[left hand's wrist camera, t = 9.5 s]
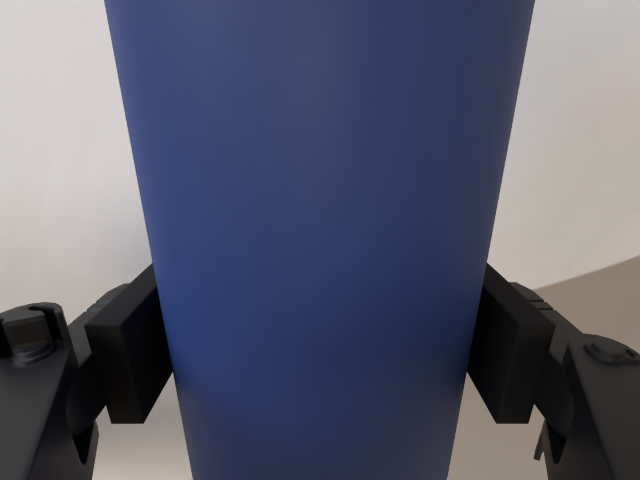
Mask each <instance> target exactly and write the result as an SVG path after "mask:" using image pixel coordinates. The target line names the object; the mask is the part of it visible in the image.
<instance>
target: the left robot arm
mask: <svg viewBox="0 0 640 480" xmlns="http://www.w3.org/2000/svg"><path fill="white" fill-rule="evenodd" d="M172 372H173V369H172V364H171V358H170V353H169V347H168V342H167V337H166V331H165V326H164V320H163V315H162V310H161V304H160V299H159V293H158V288H157V283H156V277H155V272H154V266H153V263H152V264H151V265H150V266H149V267H147V268H146V269H145V270H144V271H143V272H142V273H141V274H140V275H139V276H138V277H136V278H135V279H134V280H133V281H132V282H131V283H130V284H122V285H120V286H118V287H116V288H114V289H112V290H110V291H108V292H107V293H106V294H105V295H103V296H102V297H101V298H100V299H99V300H98V301H96V303H94V304H93V305H92V306H91V307H89V308H88V309H87V312H84V313H82V314H81V315H80V316H79V317H78V318H76V319H75V320H74V321H73V322H72V323H71V324H69V325H68V326H67V323H66V320H65V317H64V313H63V310H62V307H61V306H60V305H58V304H56V303H48V302H43V303H33V304H28V305H24V306H20V307H16V308H13V309H11V310H8V311H5V312H3V313H0V480H92V475H93V469H94V463H95V456H96V450H97V444H98V438H99V432H98V426H97V423H96V420H95V419H96V418H97V417H98V415H99V414H100V412H101V411H102V410H103V408H104V407H105V406H107V410H108V413H109V417H110V420H111V424H144V422H145V420H146V418H147V416H148V415H149V413H150V411H151V409H152V408H153V406H154V404H155V402H156V400H157V399H158V397H159V395H160V393H161V392H162V390H163V388H164V386H165V384H166V383H167V381H168V379H169V377H170V376H171V374H172ZM467 372H468V374H469V376H470V378H471V379H472V381H473V383H474V385H475V387H476V388H477V390H478V392H479V394H480V396H481V397H482V399H483V401H484V403H485V404H486V406H487V408H488V410H489V412H490V413H491V415H492V417H493V419H494V420H495V422H496V423H497V424H528V423H529V419H530V416H531V412H532V409H533V405H534V404H535V405H536V407H537V408H538V409H539V411H540V412H541V414H542V415H543V416H544V418H545V420H544V423H543V426H542V430H541V433H540V436H539V440H538V443H537V446H536V450H535V454H534V459H536V460H540V457H541V454H542V452H544V455H545V462H546V468H547V474H548V480H640V354H639V353H637V352H636V351H634V350H633V349H631V348H629V347H628V346H626V345H624V344H622V343H619V342H617V341H615V340H613V339H609V338H606V337H602V336H599V335H592V334H583V333H582V332H581V331H579V330H578V329H577V328H576V327H575V326H574V325H572V324H571V323H570V322H569V321H568V320H566V319H565V318H564V317H563V316H562V315H561V314H559V313H558V312H557V311H556V310H553V308H552V307H551V306H550V305H549V304H548V303H546V302H544V300H543V299H542V298H540V297H539V296H538V295H537V294H536V293H535V292H533V291H532V290H530V289H528V288H526V287H524V286H522V285H520V284H518V283H516V282H508V281H507V280H505V279H504V278H503V277H502V276H501V275H500V274H499V273H498V272H497V271H496V270H495V269H493V268H492V267H491V266H490V265H489V264H488V263H487V264H486V269H485V275H484V280H483V285H482V291H481V296H480V302H479V307H478V313H477V318H476V324H475V329H474V334H473V340H472V345H471V351H470V356H469V362H468V367H467Z"/></svg>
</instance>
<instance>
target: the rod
mask: <svg viewBox="0 0 640 480" xmlns="http://www.w3.org/2000/svg"><path fill="white" fill-rule="evenodd" d="M104 2H105V7H106V13H107V18H108V24H109V29H110V34H111V40H112V45H113V51H114V56H115V61H116V67H117V72H118V78H119V83H120V88H121V94H122V99H123V105H124V110H125V115H126V121H127V126H128V132H129V137H130V142H131V148H132V153H133V159H134V164H135V169H136V175H137V180H138V186H139V191H140V196H141V202H142V207H143V212H144V218H145V223H146V229H147V234H148V239H149V245H150V250H151V256H152V261H153V266H154V272H155V277H156V283H157V288H158V293H159V299H160V304H161V310H162V315H163V320H164V326H165V331H166V337H167V342H168V347H169V353H170V358H171V364H172V369H173V374H174V380H175V385H176V391H177V396H178V401H179V407H180V412H181V417H182V423H183V428H184V434H185V439H186V444H187V450H188V455H189V461H190V466H191V471H192V476H193V479H194V480H446V479H447V476H448V471H449V465H450V460H451V454H452V449H453V443H454V438H455V433H456V427H457V422H458V416H459V411H460V405H461V400H462V394H463V389H464V383H465V378H466V373H467V367H468V362H469V356H470V351H471V345H472V340H473V334H474V329H475V324H476V318H477V313H478V307H479V302H480V296H481V291H482V285H483V280H484V275H485V269H486V264H487V258H488V253H489V247H490V242H491V236H492V231H493V226H494V220H495V215H496V209H497V204H498V198H499V193H500V187H501V182H502V176H503V171H504V166H505V160H506V155H507V149H508V144H509V138H510V133H511V127H512V122H513V117H514V111H515V106H516V100H517V95H518V89H519V84H520V78H521V73H522V68H523V62H524V57H525V51H526V46H527V40H528V35H529V29H530V24H531V19H532V13H533V8H534V2H535V0H104Z"/></svg>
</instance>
